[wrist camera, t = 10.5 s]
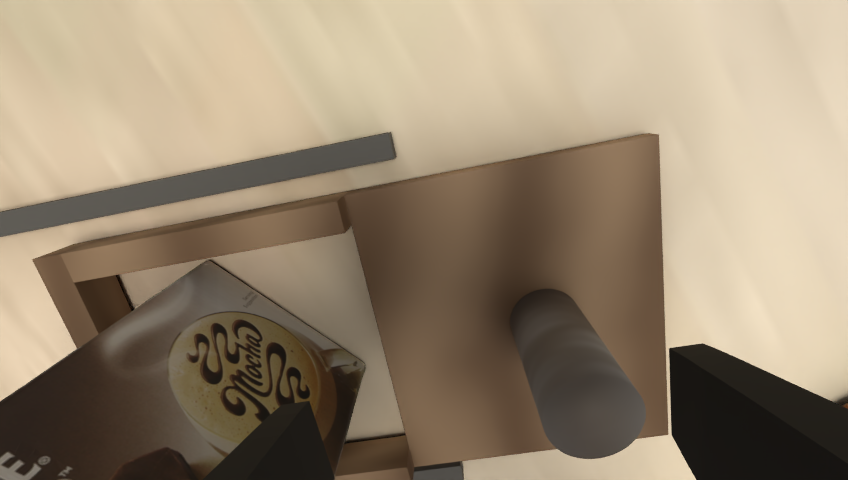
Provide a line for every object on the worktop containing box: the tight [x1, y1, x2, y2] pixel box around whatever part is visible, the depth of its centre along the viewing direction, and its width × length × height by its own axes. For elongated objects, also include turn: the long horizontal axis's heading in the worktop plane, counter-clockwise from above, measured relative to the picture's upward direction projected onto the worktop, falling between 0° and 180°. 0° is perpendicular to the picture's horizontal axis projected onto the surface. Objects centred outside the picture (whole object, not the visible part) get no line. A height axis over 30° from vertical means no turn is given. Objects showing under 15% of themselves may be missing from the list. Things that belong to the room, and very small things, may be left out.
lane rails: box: [0, 132, 464, 480], centre depth 22 cm, size 28×30×1 cm
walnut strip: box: [33, 133, 668, 480], centre depth 16 cm, size 25×14×7 cm, turn 101°
